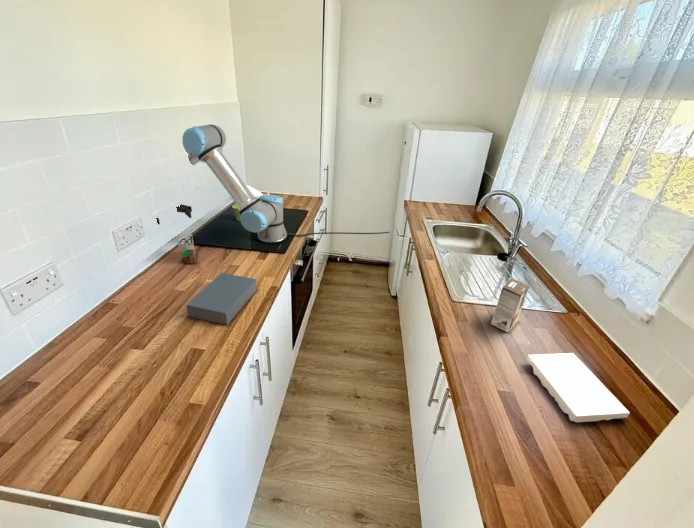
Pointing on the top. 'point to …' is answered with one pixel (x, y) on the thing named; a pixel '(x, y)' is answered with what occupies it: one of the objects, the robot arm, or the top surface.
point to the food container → (187, 249)
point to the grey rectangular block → (222, 298)
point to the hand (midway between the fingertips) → (174, 218)
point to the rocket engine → (255, 191)
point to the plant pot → (236, 212)
